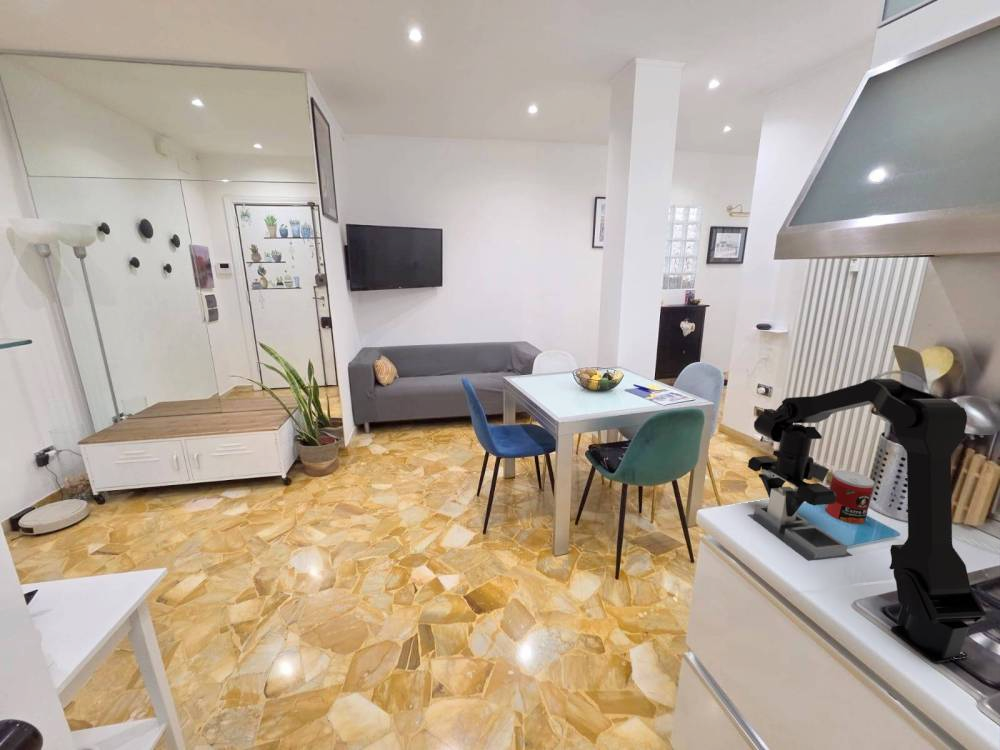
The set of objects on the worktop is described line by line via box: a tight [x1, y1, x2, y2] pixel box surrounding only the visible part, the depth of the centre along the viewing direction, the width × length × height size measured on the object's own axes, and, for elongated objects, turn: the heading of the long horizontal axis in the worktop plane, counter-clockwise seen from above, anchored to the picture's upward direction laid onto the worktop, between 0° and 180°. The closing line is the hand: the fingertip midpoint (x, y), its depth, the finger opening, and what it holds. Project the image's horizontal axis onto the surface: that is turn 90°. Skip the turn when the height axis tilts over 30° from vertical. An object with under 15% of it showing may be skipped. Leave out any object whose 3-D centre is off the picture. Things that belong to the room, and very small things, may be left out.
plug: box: [767, 486, 798, 522], centre depth 97 cm, size 4×4×9 cm
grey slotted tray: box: [747, 505, 853, 562], centre depth 93 cm, size 17×11×3 cm, turn 9°
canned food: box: [825, 469, 875, 525], centre depth 100 cm, size 8×8×11 cm
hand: (781, 511), depth 97 cm, fingers closed on plug, 4 cm apart
